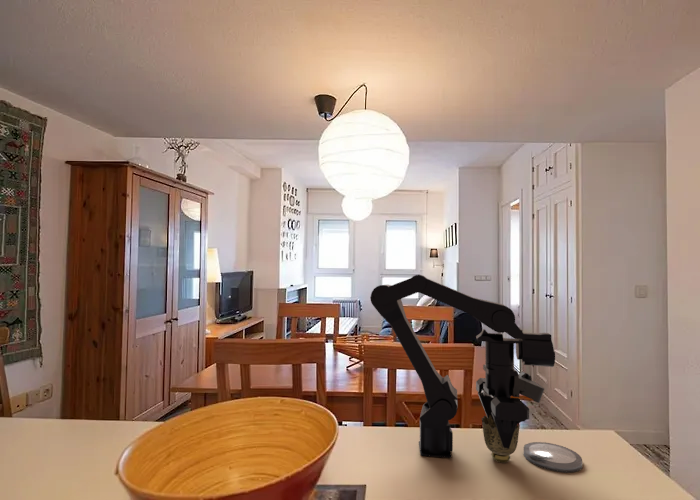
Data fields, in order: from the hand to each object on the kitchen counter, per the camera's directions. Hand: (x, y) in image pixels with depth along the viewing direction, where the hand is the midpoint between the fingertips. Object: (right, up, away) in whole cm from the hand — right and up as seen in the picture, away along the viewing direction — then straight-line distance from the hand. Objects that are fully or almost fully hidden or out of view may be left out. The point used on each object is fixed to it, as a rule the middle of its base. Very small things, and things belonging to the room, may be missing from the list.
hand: (499, 438), depth 80 cm
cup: (0, -5, 0) cm, 5 cm away
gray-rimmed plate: (+11, -5, 0) cm, 12 cm away
